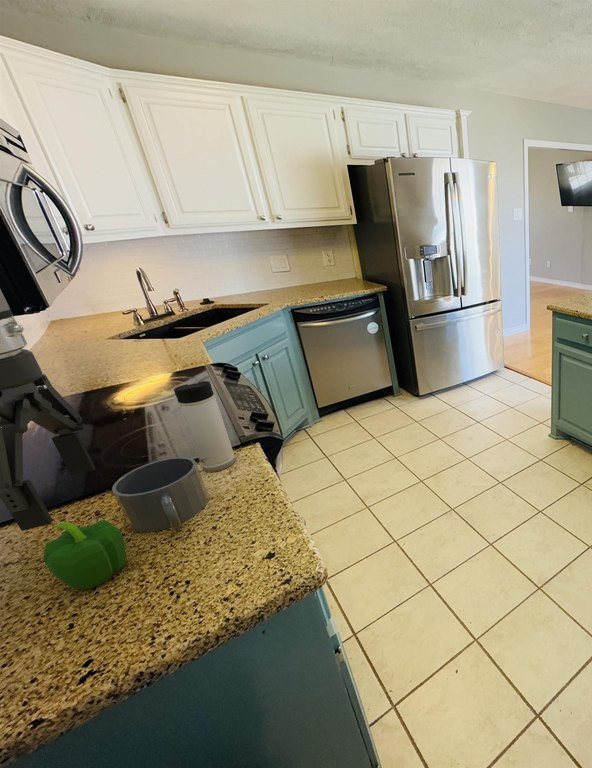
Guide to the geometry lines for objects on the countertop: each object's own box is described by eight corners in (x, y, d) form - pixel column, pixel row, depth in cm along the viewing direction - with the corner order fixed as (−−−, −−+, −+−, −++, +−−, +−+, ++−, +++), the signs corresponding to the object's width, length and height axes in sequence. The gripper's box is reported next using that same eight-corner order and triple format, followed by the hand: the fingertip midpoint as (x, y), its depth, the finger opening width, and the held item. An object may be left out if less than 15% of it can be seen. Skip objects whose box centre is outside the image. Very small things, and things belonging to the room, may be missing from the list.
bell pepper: (143, 568, 65) (118, 518, 61) (72, 607, 58) (39, 554, 55) (124, 547, 69) (100, 499, 65) (56, 581, 63) (25, 530, 59)
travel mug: (203, 476, 88) (171, 392, 80) (202, 462, 93) (172, 381, 85) (237, 466, 91) (209, 384, 83) (234, 453, 96) (209, 375, 88)
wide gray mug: (126, 511, 78) (109, 476, 75) (201, 482, 86) (188, 450, 83) (136, 554, 68) (117, 516, 64) (220, 517, 76) (207, 482, 72)
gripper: (-41, 383, 41) (55, 544, 49) (72, 328, 62) (126, 448, 70) (-156, 399, 38) (-34, 567, 46) (3, 335, 59) (68, 460, 67)
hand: (62, 496), depth 58 cm, fingers open, 13 cm apart
